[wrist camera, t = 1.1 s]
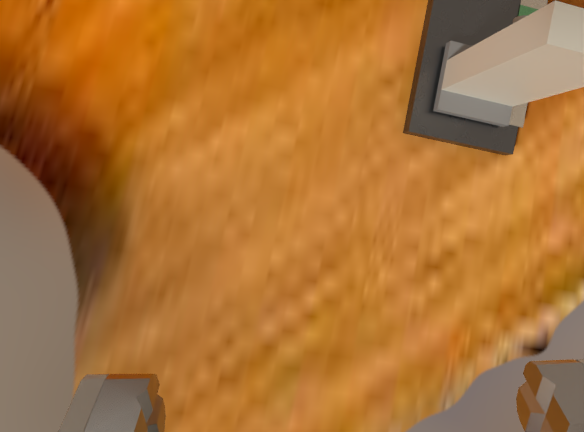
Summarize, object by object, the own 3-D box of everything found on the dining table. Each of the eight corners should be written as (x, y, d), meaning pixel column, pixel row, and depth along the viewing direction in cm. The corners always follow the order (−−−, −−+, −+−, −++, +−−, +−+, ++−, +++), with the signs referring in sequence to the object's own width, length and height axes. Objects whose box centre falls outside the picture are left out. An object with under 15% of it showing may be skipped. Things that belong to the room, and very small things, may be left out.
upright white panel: (521, 131, 53) (666, 103, 36) (433, 110, 51) (541, 72, 34) (536, 56, 52) (688, -6, 36) (448, 33, 51) (563, -43, 34)
